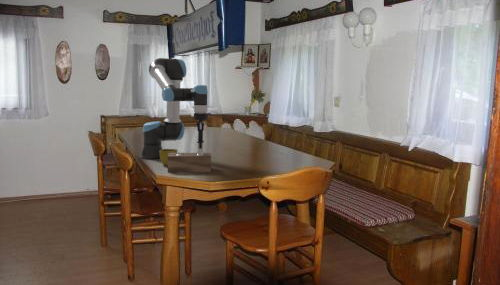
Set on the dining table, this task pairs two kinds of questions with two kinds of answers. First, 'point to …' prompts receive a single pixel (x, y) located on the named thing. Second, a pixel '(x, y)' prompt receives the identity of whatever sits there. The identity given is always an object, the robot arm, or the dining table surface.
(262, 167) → the dining table surface
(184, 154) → the tan grooved block
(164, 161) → the flower pot
